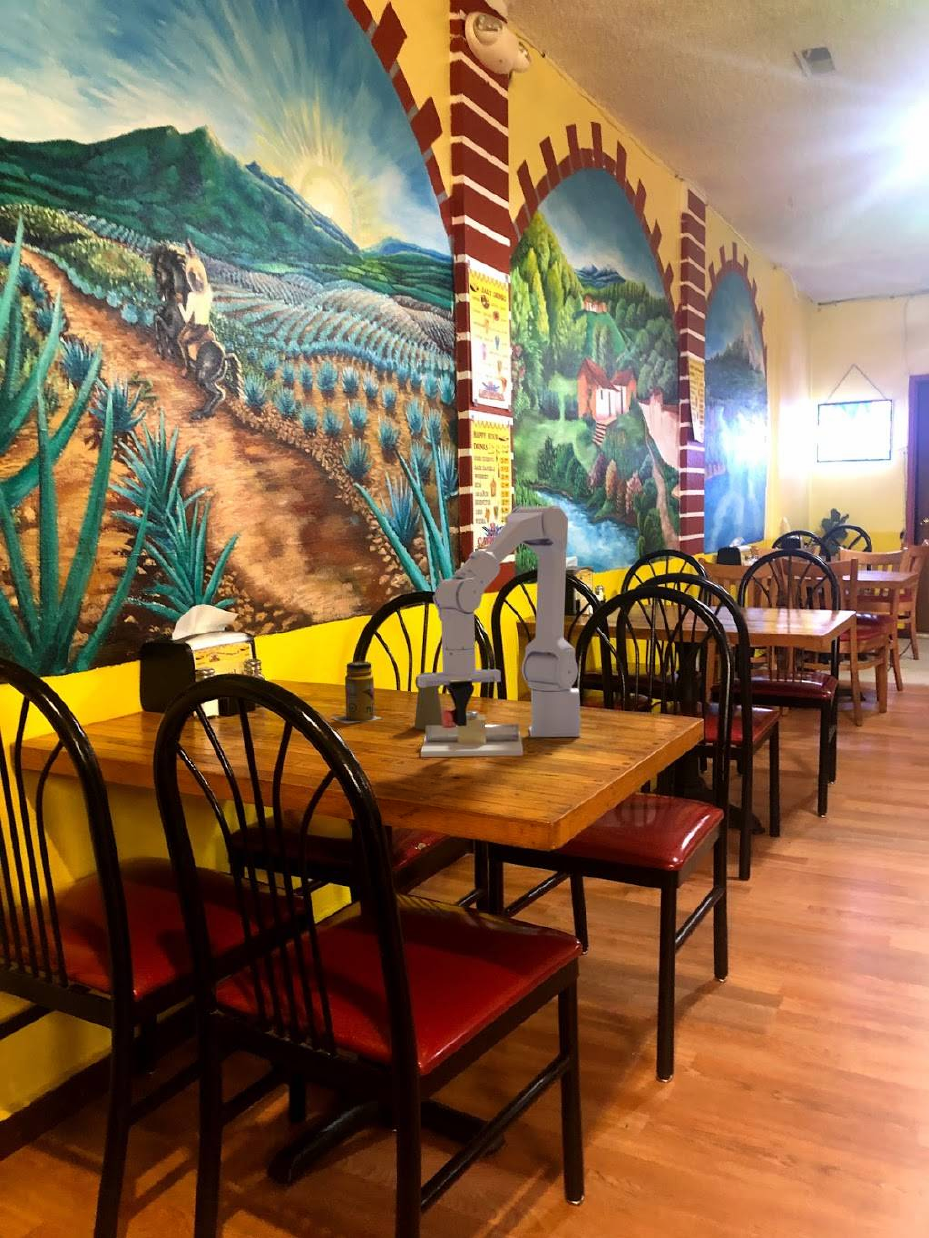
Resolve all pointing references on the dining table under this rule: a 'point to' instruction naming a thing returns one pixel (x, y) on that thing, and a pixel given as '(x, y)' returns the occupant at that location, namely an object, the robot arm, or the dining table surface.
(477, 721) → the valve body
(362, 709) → the condiment
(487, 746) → the valve board
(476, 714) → the valve lever
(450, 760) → the dining table surface
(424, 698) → the olive tapered post
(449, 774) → the dining table surface
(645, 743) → the dining table surface
